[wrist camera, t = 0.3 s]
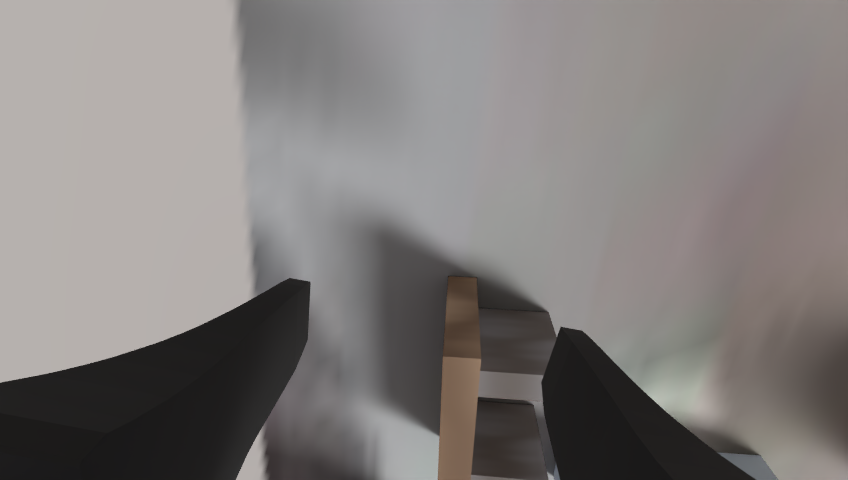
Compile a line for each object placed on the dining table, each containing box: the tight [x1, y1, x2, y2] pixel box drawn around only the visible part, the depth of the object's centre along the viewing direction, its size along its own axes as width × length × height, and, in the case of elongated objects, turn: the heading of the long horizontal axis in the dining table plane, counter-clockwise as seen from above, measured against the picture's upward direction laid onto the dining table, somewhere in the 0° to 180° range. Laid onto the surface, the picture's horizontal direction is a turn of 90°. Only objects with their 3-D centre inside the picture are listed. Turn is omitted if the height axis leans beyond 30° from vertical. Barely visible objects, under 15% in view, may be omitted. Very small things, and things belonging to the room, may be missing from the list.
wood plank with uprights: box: [438, 276, 557, 480], centre depth 22 cm, size 6×12×6 cm, turn 179°
